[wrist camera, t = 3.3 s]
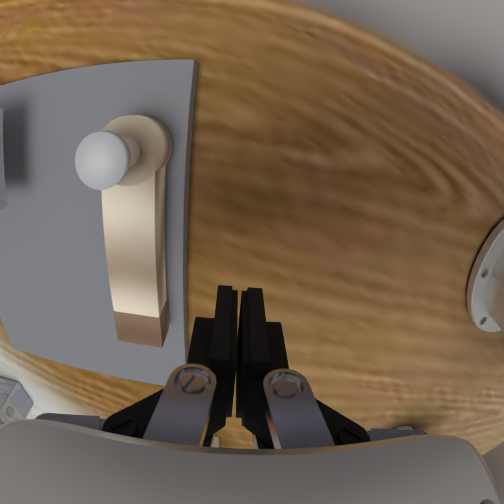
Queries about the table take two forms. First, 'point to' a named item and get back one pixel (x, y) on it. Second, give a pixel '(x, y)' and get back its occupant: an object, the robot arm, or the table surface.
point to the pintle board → (88, 211)
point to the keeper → (2, 167)
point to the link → (139, 234)
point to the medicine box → (13, 401)
